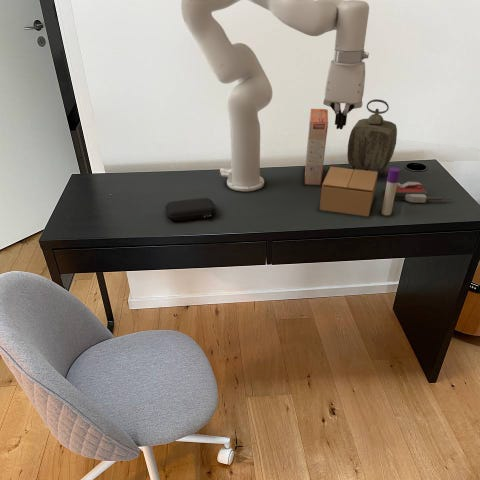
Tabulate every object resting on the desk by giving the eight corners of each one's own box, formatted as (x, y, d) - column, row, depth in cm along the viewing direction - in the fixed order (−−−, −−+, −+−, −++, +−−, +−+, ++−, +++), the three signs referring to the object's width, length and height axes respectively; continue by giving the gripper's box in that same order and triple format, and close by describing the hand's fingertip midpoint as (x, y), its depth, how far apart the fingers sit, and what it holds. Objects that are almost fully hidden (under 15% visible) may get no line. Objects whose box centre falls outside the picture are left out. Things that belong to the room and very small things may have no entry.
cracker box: (322, 186, 166) (328, 121, 152) (304, 185, 166) (309, 121, 153) (322, 169, 176) (328, 108, 163) (305, 168, 177) (310, 107, 164)
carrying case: (169, 225, 145) (218, 219, 148) (168, 216, 143) (218, 210, 146) (164, 209, 153) (211, 204, 156) (163, 200, 151) (211, 195, 154)
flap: (322, 185, 147) (322, 183, 147) (330, 167, 157) (330, 166, 157) (346, 188, 145) (347, 187, 145) (353, 170, 155) (353, 169, 155)
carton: (319, 210, 152) (322, 183, 146) (327, 192, 162) (330, 166, 157) (368, 217, 148) (373, 190, 143) (373, 198, 158) (378, 171, 153)
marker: (380, 215, 149) (388, 170, 140) (381, 211, 152) (389, 166, 143) (390, 216, 149) (399, 171, 140) (391, 212, 151) (400, 167, 142)
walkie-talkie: (386, 203, 155) (450, 204, 155) (388, 190, 153) (454, 191, 152) (380, 191, 162) (442, 192, 161) (383, 178, 159) (446, 179, 159)
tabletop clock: (390, 174, 173) (404, 98, 157) (384, 184, 166) (399, 106, 150) (349, 167, 177) (359, 93, 162) (342, 177, 171) (352, 101, 155)
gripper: (378, 55, 131) (367, 126, 143) (322, 52, 135) (316, 121, 146) (375, 61, 126) (364, 134, 137) (317, 57, 129) (311, 129, 141)
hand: (339, 127), depth 142 cm, fingers closed
